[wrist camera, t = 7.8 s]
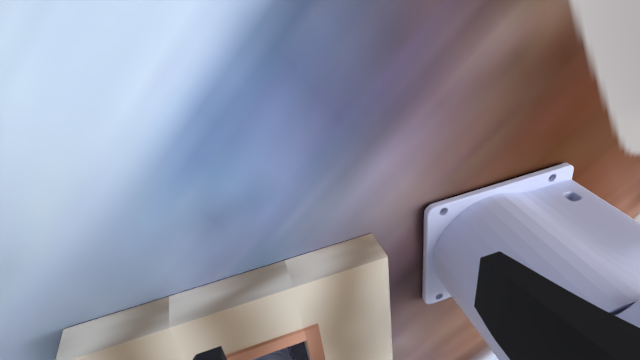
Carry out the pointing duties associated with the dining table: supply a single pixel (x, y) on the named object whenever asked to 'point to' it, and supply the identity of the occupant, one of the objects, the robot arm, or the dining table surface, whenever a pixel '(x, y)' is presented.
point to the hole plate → (258, 313)
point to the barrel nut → (276, 355)
